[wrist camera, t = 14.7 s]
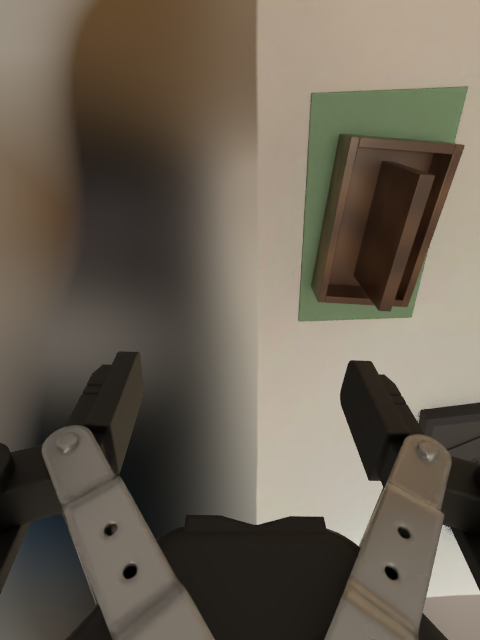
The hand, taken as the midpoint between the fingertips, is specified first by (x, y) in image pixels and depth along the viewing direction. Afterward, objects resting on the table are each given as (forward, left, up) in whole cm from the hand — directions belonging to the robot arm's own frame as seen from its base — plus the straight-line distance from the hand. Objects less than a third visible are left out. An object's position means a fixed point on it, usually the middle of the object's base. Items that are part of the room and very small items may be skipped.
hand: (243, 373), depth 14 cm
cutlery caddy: (+9, +10, -27) cm, 31 cm away
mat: (+10, +10, -27) cm, 31 cm away
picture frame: (+50, +9, -28) cm, 57 cm away
